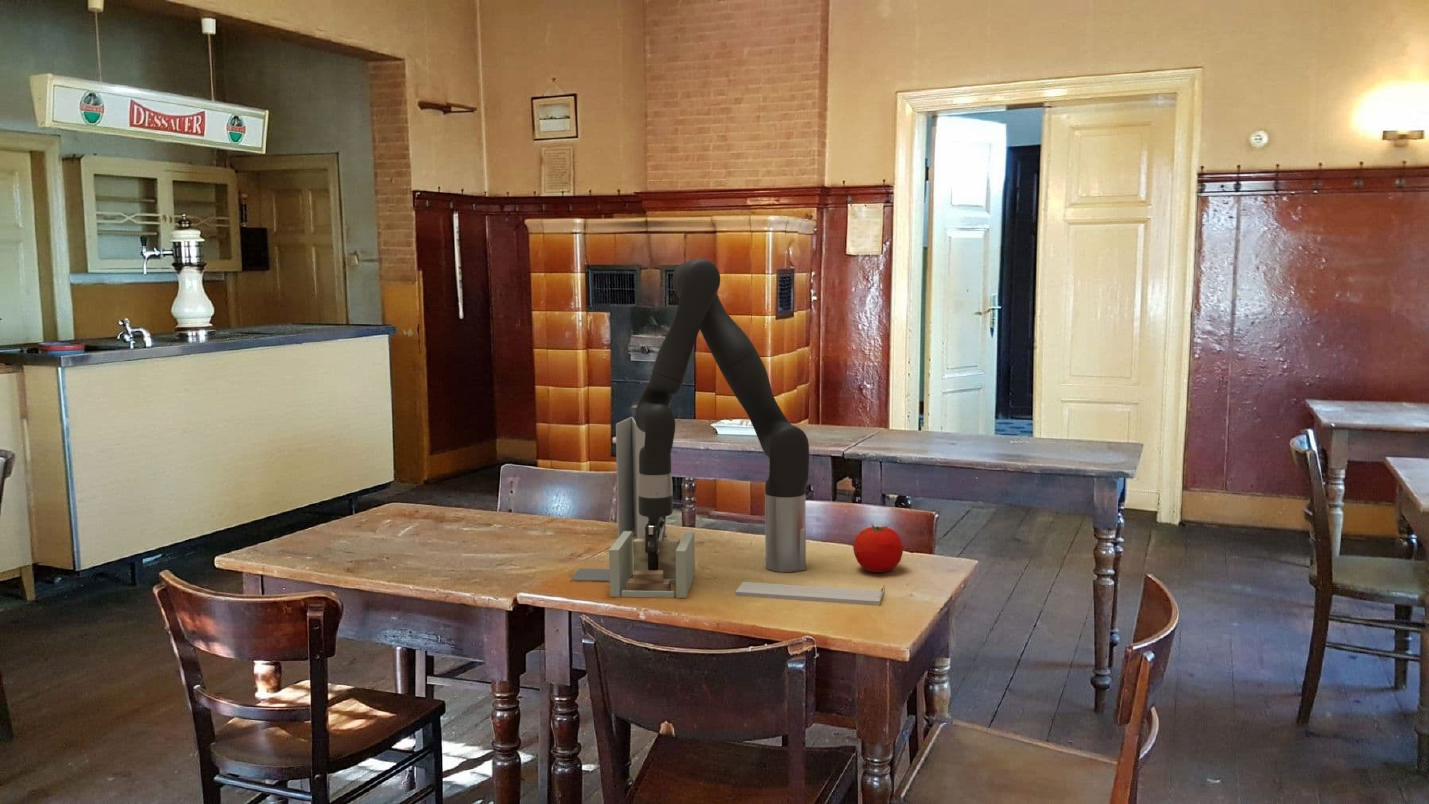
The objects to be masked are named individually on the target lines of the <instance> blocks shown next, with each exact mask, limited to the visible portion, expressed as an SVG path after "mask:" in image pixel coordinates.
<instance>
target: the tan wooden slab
mask: <svg viewBox="0 0 1429 804" xmlns="http://www.w3.org/2000/svg"><path fill="white" fill-rule="evenodd" d="M680 542H681V540H680V538H679V539H678V538H666V539H662V543H661V545H659V553H658V570H663V579H676V549H677V547H678V545H679V543H680ZM650 547H654V544H651V545H650ZM635 571H648V554H647V553H646V552H645V538H642V539H637V538H634V539H633V573H634V572H635Z"/></svg>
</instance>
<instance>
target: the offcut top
mask: <svg viewBox="0 0 1429 804" xmlns="http://www.w3.org/2000/svg"><path fill="white" fill-rule="evenodd" d="M633 578H634V584H645V583H663V570H648V571H635V572H634V571H633Z"/></svg>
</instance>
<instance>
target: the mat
mask: <svg viewBox="0 0 1429 804" xmlns="http://www.w3.org/2000/svg"><path fill="white" fill-rule="evenodd" d="M570 580H572V581H573V580H574V581H599V582H598V583H610V572H609V568H578V570H577V571H576V572H575V573H574V574H573V576H572V577H571V578H570ZM572 581H571V582H572Z"/></svg>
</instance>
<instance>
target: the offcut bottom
mask: <svg viewBox="0 0 1429 804" xmlns="http://www.w3.org/2000/svg"><path fill="white" fill-rule="evenodd" d="M625 590H641V591H672V583H671V580H663V583H645V584H634V579H629V580H628V581H627V583H626V587H625Z"/></svg>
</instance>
